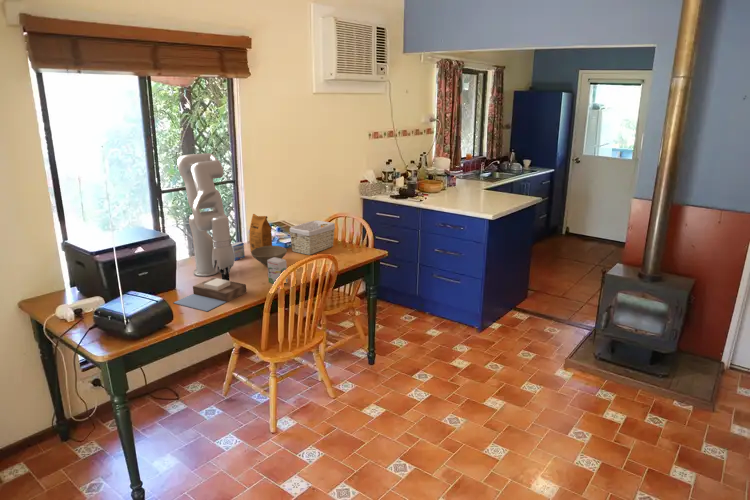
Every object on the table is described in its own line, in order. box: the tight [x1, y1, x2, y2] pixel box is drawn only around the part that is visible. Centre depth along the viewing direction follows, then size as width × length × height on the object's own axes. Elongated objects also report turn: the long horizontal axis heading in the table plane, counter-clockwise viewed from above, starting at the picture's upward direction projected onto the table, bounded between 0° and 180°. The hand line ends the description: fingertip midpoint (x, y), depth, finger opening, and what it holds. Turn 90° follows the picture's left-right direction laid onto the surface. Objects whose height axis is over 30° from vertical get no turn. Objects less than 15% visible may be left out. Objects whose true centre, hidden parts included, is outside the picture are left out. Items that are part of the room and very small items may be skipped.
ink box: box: [267, 257, 288, 284], centre depth 251 cm, size 8×5×12 cm, turn 55°
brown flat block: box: [192, 277, 247, 303], centre depth 239 cm, size 13×20×4 cm, turn 62°
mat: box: [173, 293, 227, 313], centre depth 229 cm, size 11×20×1 cm, turn 62°
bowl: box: [250, 245, 288, 266], centre depth 278 cm, size 18×18×8 cm
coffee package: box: [249, 213, 273, 253], centre depth 298 cm, size 10×12×22 cm
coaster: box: [204, 277, 231, 291], centre depth 237 cm, size 8×8×2 cm
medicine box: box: [231, 241, 246, 262], centre depth 288 cm, size 8×4×9 cm, turn 148°
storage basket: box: [289, 219, 336, 256], centre depth 304 cm, size 24×16×15 cm
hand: (225, 281), depth 242 cm, fingers closed
